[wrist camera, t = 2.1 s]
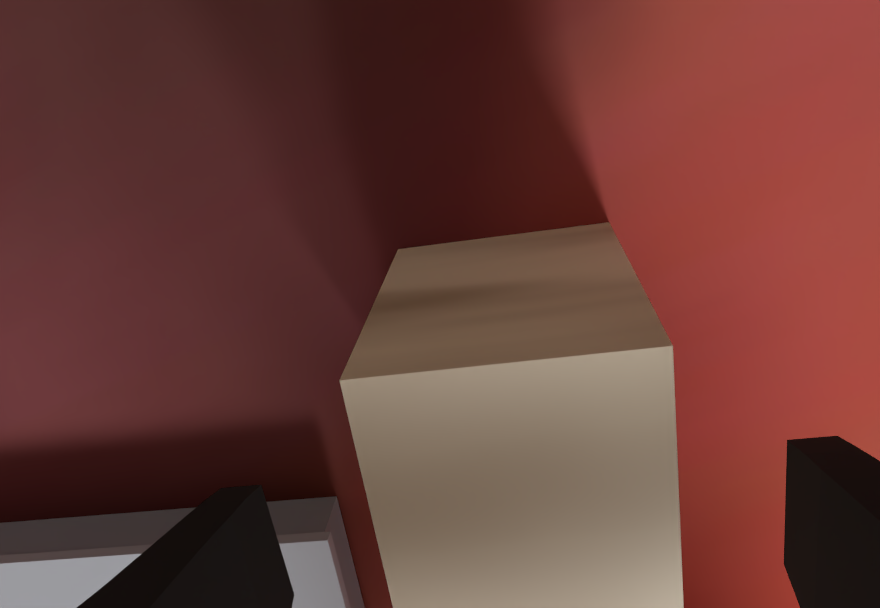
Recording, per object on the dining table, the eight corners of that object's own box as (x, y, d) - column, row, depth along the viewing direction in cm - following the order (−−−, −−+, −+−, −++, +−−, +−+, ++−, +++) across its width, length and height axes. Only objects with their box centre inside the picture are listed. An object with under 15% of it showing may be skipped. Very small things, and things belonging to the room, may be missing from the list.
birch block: (622, 408, 16) (683, 609, 11) (431, 426, 17) (397, 625, 11) (608, 221, 15) (673, 345, 9) (398, 248, 15) (339, 380, 10)
